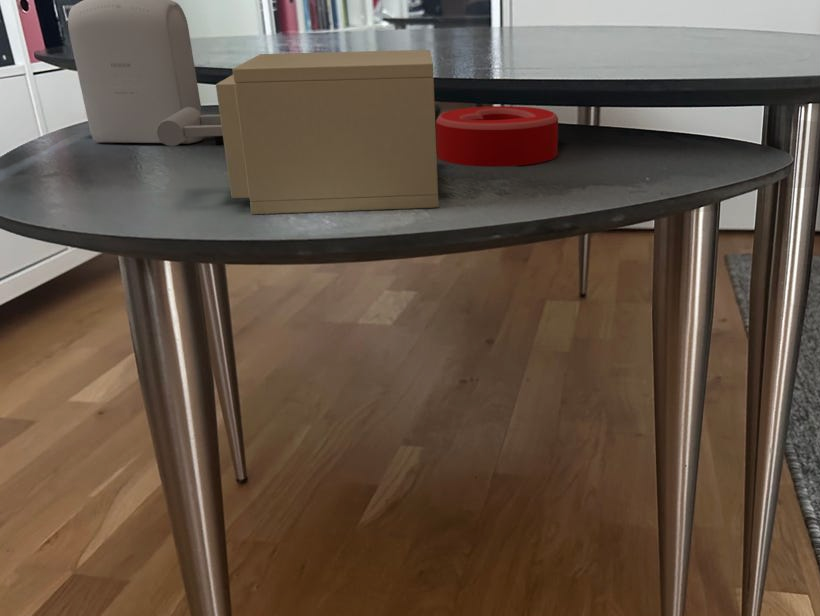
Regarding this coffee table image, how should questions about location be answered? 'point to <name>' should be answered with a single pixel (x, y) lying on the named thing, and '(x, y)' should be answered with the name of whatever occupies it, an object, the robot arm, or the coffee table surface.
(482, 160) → the decorative ornament
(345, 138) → the cabinet
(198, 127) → the drawer
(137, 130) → the photo printer
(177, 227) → the coffee table surface
